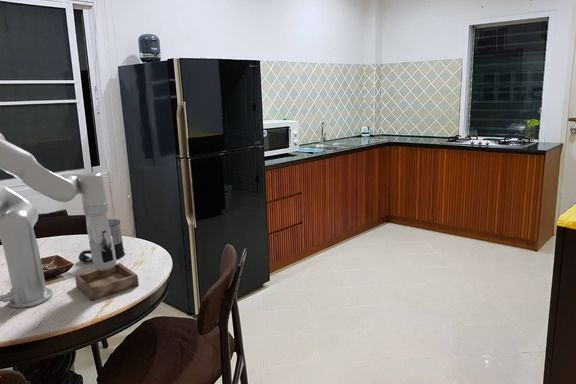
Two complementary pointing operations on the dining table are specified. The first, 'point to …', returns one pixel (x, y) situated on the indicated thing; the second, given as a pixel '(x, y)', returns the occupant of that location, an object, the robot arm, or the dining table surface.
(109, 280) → the tray
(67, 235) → the dining table surface
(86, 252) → the milk frother
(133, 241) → the dining table surface
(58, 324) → the dining table surface
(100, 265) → the can
